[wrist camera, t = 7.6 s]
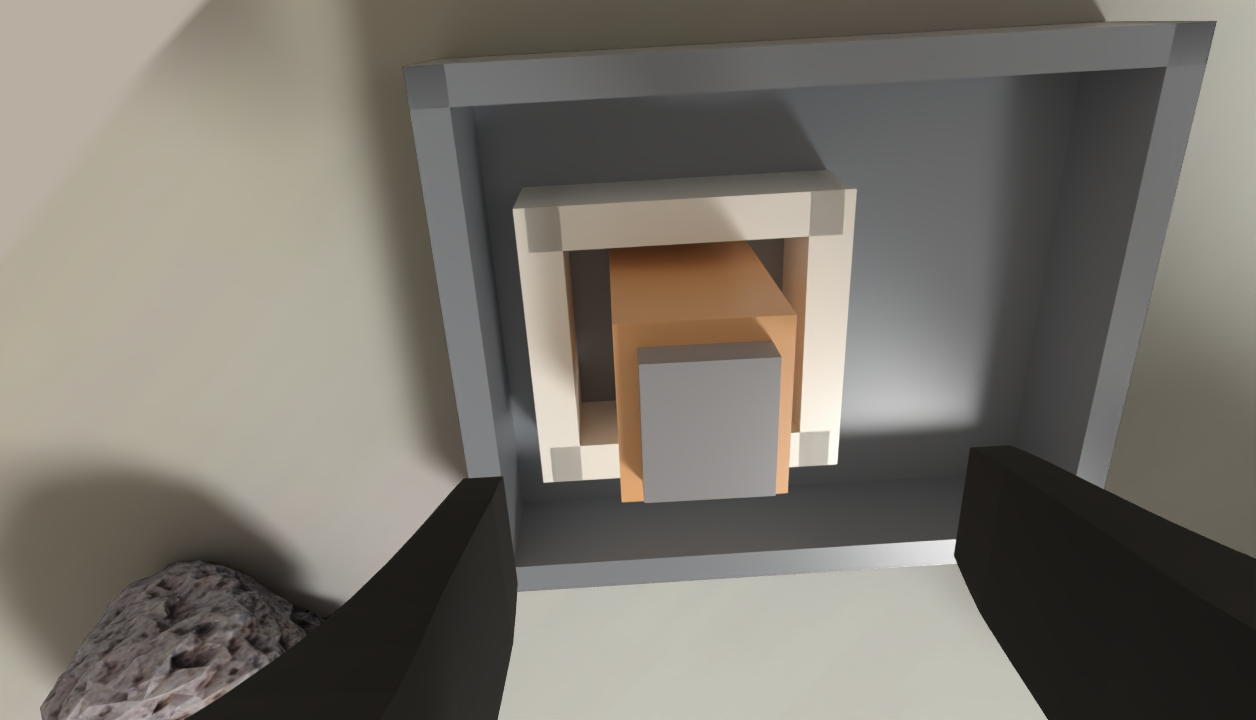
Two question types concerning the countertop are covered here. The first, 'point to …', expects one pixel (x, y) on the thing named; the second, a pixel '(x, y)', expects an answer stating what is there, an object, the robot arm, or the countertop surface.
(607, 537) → the walled box
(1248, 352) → the countertop surface
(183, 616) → the pumice stone
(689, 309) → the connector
